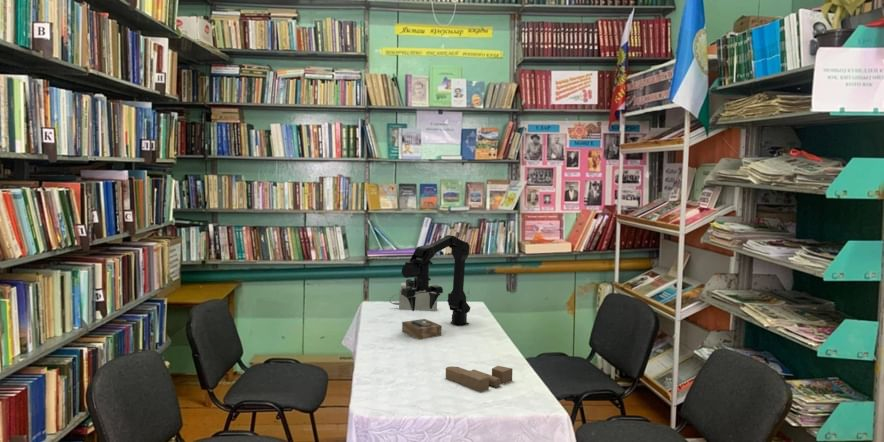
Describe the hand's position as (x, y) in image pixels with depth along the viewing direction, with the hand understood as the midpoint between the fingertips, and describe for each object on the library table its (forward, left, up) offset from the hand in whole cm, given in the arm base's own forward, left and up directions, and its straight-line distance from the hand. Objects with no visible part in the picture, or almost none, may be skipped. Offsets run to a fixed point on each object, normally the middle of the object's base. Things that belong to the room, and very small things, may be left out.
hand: (421, 309), depth 270 cm
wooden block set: (+13, +60, -12) cm, 63 cm away
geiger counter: (-20, -41, -11) cm, 47 cm away
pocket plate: (0, 0, -11) cm, 11 cm away
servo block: (0, 0, -10) cm, 11 cm away
